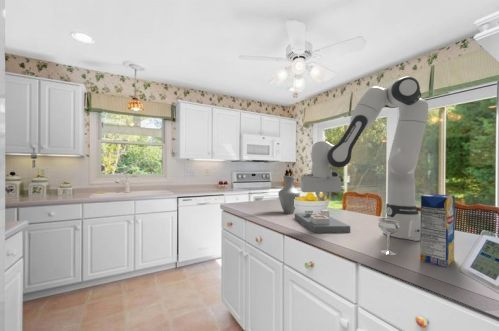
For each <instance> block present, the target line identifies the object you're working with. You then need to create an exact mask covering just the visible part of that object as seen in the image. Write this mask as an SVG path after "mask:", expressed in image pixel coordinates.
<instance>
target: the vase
mask: <svg viewBox="0 0 499 331" xmlns="http://www.w3.org/2000/svg"><path fill="white" fill-rule="evenodd" d="M282 177H283V179H284V186H283V188H282V189H280V190H279V191H278V192H277V194H278V198H279V203H280V206H281V209H282V211H283V213H284V214H295V210H296V208H295V207H294V199H295V197H299V198H300V194H301V193H300V191H299V190H298V189H296V188H295V185H294V182H295V178H296V176H295V175H283V176H282Z"/></svg>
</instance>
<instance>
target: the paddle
mask: <svg viewBox="0 0 499 331" xmlns="http://www.w3.org/2000/svg"><path fill="white" fill-rule="evenodd" d="M320 213H321V216H326V217H328V218H329V216H330V210H329V209H320Z"/></svg>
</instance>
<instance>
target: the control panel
mask: <svg viewBox="0 0 499 331" xmlns="http://www.w3.org/2000/svg"><path fill="white" fill-rule="evenodd" d="M315 217H323V218H315ZM294 219H295V220H297V221H298V222H299V223H301V225H303V226H304V227H306V228H307V229H309V230H310V231H311V232H312V233H314V234H316V233H318V234H319V233H320V234H321V233H323V234H326V233H333V234H335V233H351V225H349V224H347V223H344V222H342V221H340V220H339V219H337V218H334V217H332V216H330V215H329V218H328V217H326V216H321V212H318V214H312V213H305V212H304V213H303V212H302V213H301V212H300V213H299V212H298V213H297V212H296V213H295V212H294Z"/></svg>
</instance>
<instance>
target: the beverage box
mask: <svg viewBox="0 0 499 331" xmlns="http://www.w3.org/2000/svg"><path fill="white" fill-rule="evenodd" d="M455 200H456V196H455V195H451V194H437V193H436V194H435V193H427V194H422V195H420V207H421V211H420V215H421V240H420V249H419V250H420V253H419V254H420V255H419V258H420V259H419V261H420V262H422V263H427V264H431V265H435V266H437V267H442V268H447V267H449V265H451V263H452V262H453V261H455V217H456V216H455V211H456V210H455V207H456V206H455V204H456V203H455V202H456V201H455Z"/></svg>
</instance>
